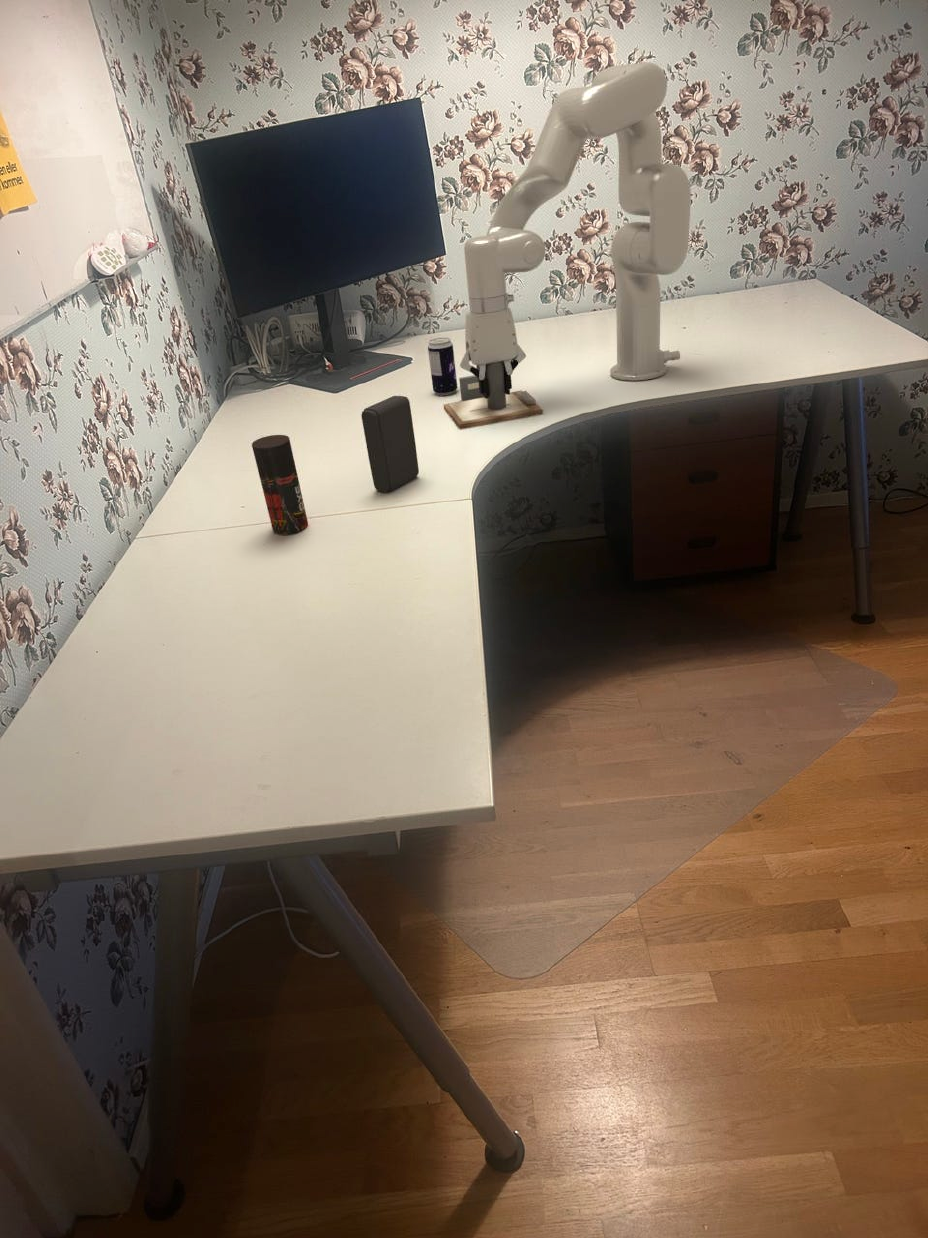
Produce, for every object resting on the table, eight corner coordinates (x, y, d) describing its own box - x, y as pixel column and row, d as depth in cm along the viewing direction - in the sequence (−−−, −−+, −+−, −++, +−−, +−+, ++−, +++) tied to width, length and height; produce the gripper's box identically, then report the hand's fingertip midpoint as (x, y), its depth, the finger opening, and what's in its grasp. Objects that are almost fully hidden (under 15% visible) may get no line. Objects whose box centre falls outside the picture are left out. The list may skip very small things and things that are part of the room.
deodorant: (274, 522, 144) (254, 437, 136) (309, 517, 144) (290, 432, 136) (271, 537, 139) (249, 450, 131) (307, 532, 139) (287, 445, 131)
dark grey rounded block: (406, 472, 157) (394, 392, 149) (422, 476, 155) (411, 395, 147) (372, 491, 151) (357, 408, 144) (388, 495, 149) (374, 411, 141)
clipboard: (521, 394, 190) (521, 385, 189) (543, 413, 177) (542, 404, 176) (443, 408, 187) (442, 399, 186) (459, 429, 174) (458, 419, 173)
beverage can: (455, 396, 194) (449, 342, 188) (431, 397, 195) (424, 344, 189) (460, 388, 199) (454, 336, 193) (436, 389, 200) (430, 337, 194)
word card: (504, 392, 193) (502, 370, 190) (505, 393, 192) (503, 371, 189) (461, 399, 191) (459, 377, 189) (462, 401, 190) (460, 379, 188)
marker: (503, 401, 182) (499, 345, 176) (509, 407, 178) (504, 350, 172) (484, 404, 181) (479, 348, 175) (490, 410, 178) (485, 353, 171)
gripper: (522, 294, 173) (528, 383, 183) (443, 307, 171) (453, 396, 180) (534, 300, 167) (539, 392, 177) (452, 314, 164) (461, 406, 174)
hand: (495, 393), depth 178 cm, fingers closed on marker, 4 cm apart
